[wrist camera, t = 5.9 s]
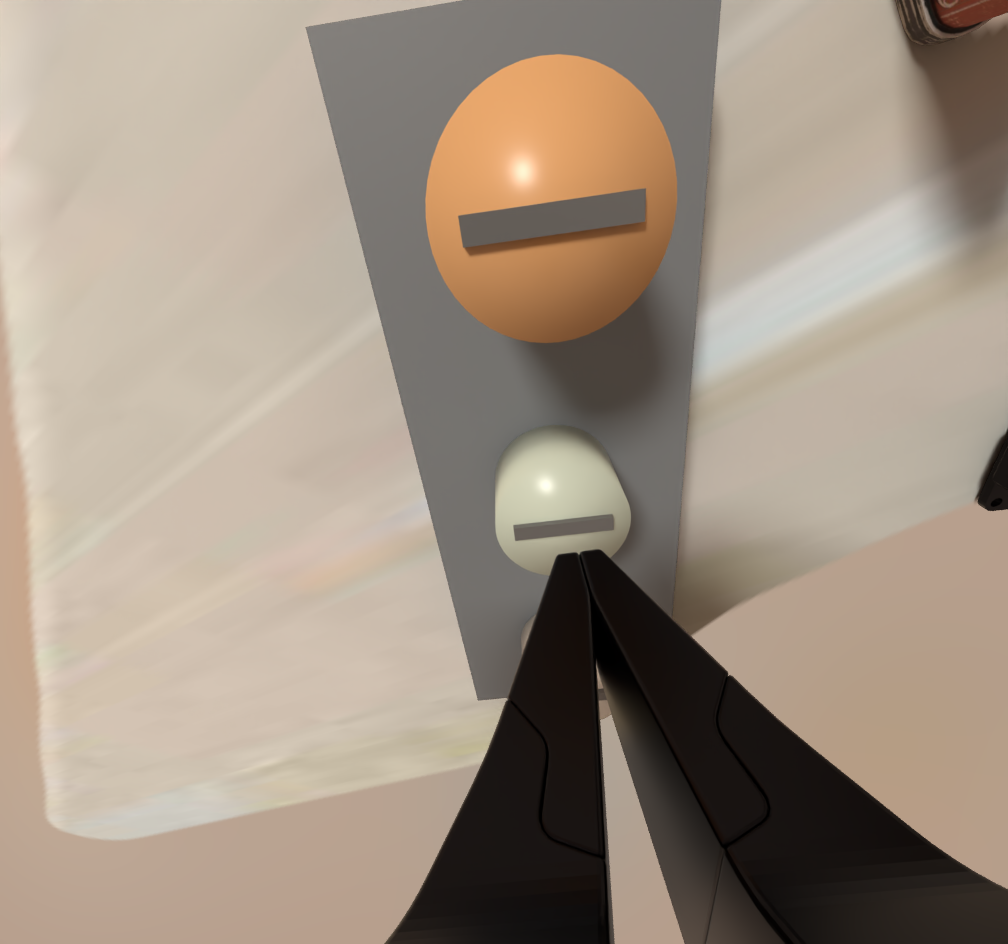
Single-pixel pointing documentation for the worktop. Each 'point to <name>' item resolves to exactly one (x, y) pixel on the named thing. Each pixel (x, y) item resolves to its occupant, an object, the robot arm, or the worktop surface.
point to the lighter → (946, 17)
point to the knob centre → (557, 498)
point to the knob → (551, 198)
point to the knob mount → (489, 354)
